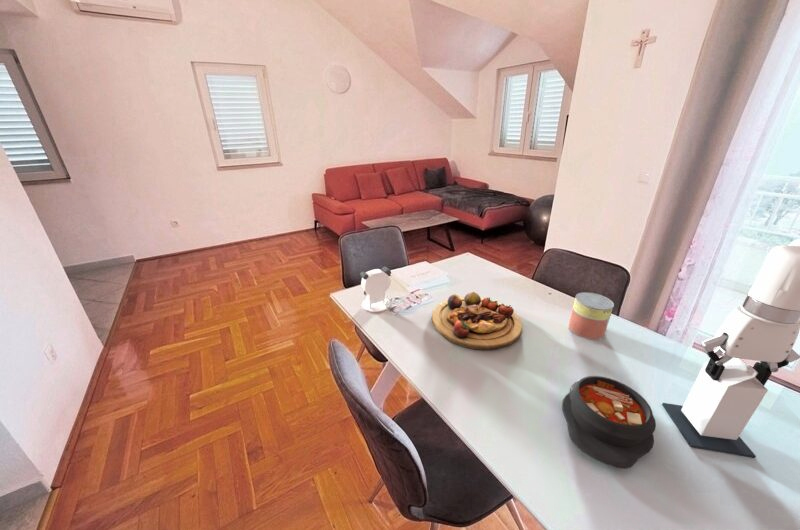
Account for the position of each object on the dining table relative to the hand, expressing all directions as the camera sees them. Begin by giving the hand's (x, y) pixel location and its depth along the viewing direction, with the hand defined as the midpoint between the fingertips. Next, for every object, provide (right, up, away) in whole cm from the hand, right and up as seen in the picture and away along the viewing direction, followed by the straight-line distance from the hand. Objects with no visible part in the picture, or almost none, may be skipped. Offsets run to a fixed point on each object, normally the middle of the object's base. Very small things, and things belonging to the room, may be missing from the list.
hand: (732, 378), depth 68 cm
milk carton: (0, -13, +6) cm, 14 cm away
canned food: (-7, +2, +42) cm, 43 cm away
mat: (0, -14, +6) cm, 16 cm away
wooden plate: (-45, +3, +46) cm, 64 cm away
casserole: (-23, -14, +7) cm, 28 cm away
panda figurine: (-82, +8, +59) cm, 101 cm away
